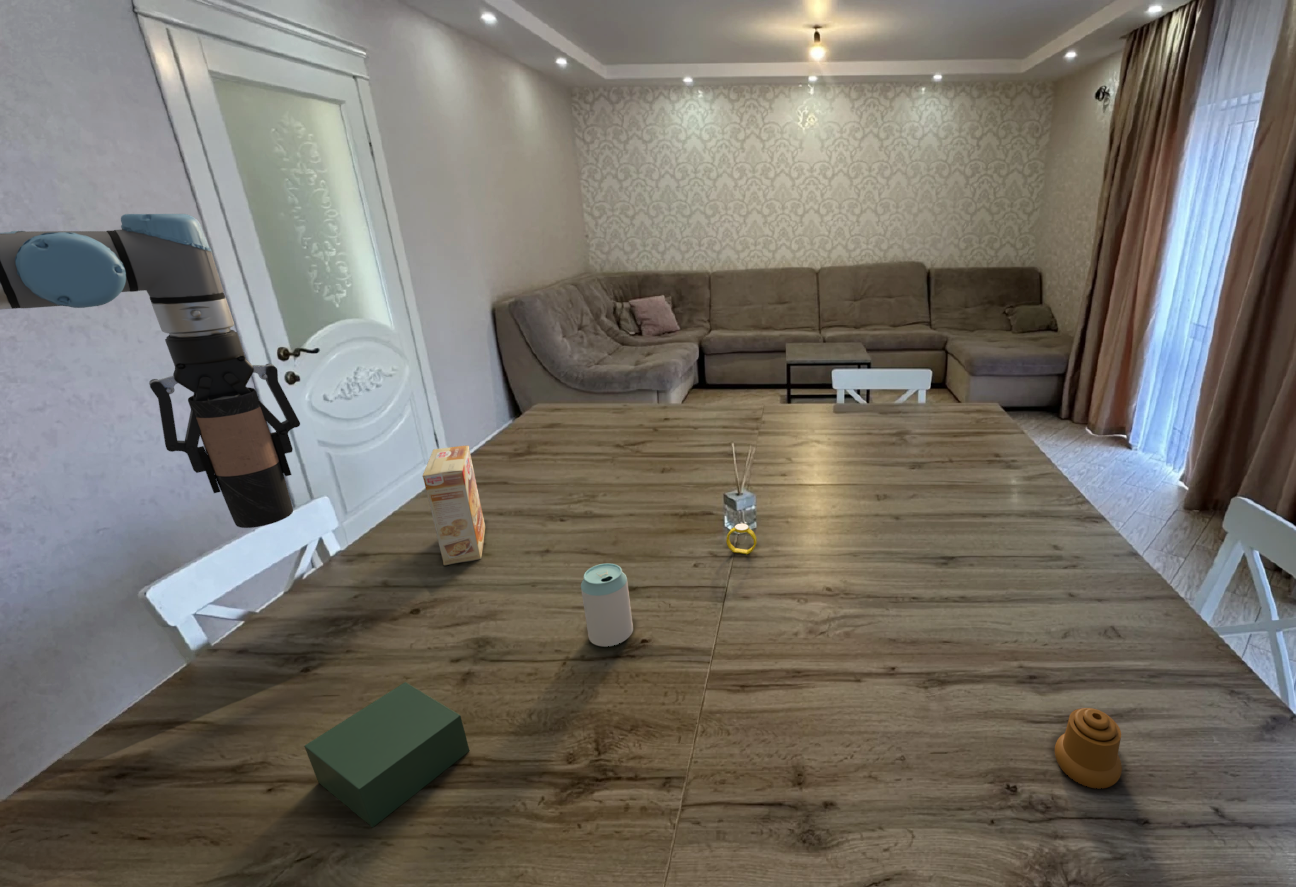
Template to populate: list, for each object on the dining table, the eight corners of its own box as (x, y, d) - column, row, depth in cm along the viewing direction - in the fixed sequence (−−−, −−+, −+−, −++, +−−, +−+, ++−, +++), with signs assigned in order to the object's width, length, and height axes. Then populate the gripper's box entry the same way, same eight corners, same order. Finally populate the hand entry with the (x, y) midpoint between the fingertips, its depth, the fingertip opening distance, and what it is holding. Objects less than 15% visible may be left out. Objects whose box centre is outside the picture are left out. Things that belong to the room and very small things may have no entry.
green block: (372, 828, 69) (358, 789, 66) (318, 782, 74) (303, 745, 72) (470, 751, 78) (460, 715, 76) (415, 716, 84) (405, 681, 82)
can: (641, 625, 102) (634, 564, 97) (619, 653, 95) (610, 588, 91) (604, 618, 103) (595, 558, 99) (580, 645, 97) (569, 581, 93)
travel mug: (269, 529, 91) (225, 401, 84) (219, 529, 91) (170, 401, 84) (307, 506, 98) (269, 386, 91) (260, 506, 98) (219, 386, 91)
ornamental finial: (1106, 805, 70) (1043, 766, 75) (1128, 766, 75) (1067, 732, 80) (1119, 753, 68) (1052, 716, 73) (1141, 716, 72) (1077, 684, 77)
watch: (725, 555, 122) (724, 529, 120) (729, 547, 125) (727, 522, 123) (755, 557, 122) (754, 530, 119) (757, 549, 124) (756, 524, 122)
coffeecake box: (482, 559, 122) (462, 470, 115) (442, 566, 119) (420, 475, 112) (486, 525, 135) (469, 443, 128) (451, 531, 132) (431, 448, 125)
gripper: (92, 346, 75) (160, 511, 83) (297, 325, 89) (338, 468, 97) (93, 338, 80) (157, 495, 88) (287, 319, 94) (327, 456, 102)
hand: (252, 481), depth 93 cm, fingers closed on travel mug, 8 cm apart
